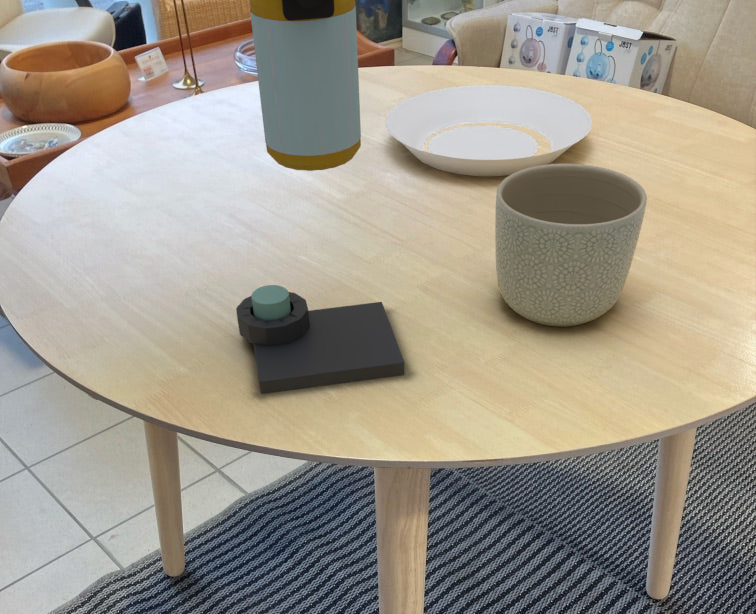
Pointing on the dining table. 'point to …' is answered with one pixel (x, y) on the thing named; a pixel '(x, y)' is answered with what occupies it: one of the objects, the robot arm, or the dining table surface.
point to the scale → (321, 345)
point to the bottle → (308, 85)
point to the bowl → (487, 127)
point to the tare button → (271, 302)
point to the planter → (566, 240)
